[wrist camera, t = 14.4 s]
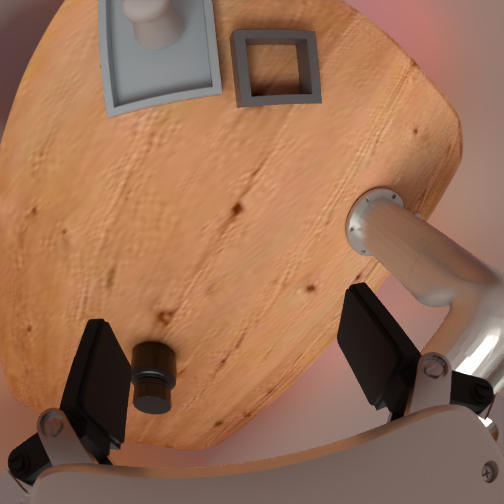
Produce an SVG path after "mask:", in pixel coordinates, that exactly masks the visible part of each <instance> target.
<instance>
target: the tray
mask: <svg viewBox="0 0 504 504" xmlns="http://www.w3.org/2000/svg"><path fill="white" fill-rule="evenodd" d="M121 2H122V0H98V24H99V47H100V60H101V71H102V81H103V89H104V97H105V105H106V111H107V118H110V117H116V116H119V115H123V114H126V113H130V112H134V111H138V110H142V109H146V108H150V107H155V106H159V105H164V104H169V103H174V102H179V101H184V100H190V99H196V98H203V97H209V96H217V95H221V94H222V87H221V78H220V69H219V60H218V51H217V42H216V32H215V23H214V13H213V4H212V0H170V5H169V6H170V7H171V8H172V9H173V10H174V11H175V12H176V13H177V14H178V16H179V17H180V18H181V19H182V25H183V29H182V31H181V34H180V37H179V38H178V39H177V40H176V41H175V42H174V43H173V44H172V45H170V46H168V47H166V48H164V49H162V50H149V49H146V48H143V47H141V46H140V45H139V44H138V43H137V41H136V40H135V35H134V28H133V22H131V21H129V20H128V19H127V18H126V17H125V16H124V14H123V13H122V5H121Z"/></svg>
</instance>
